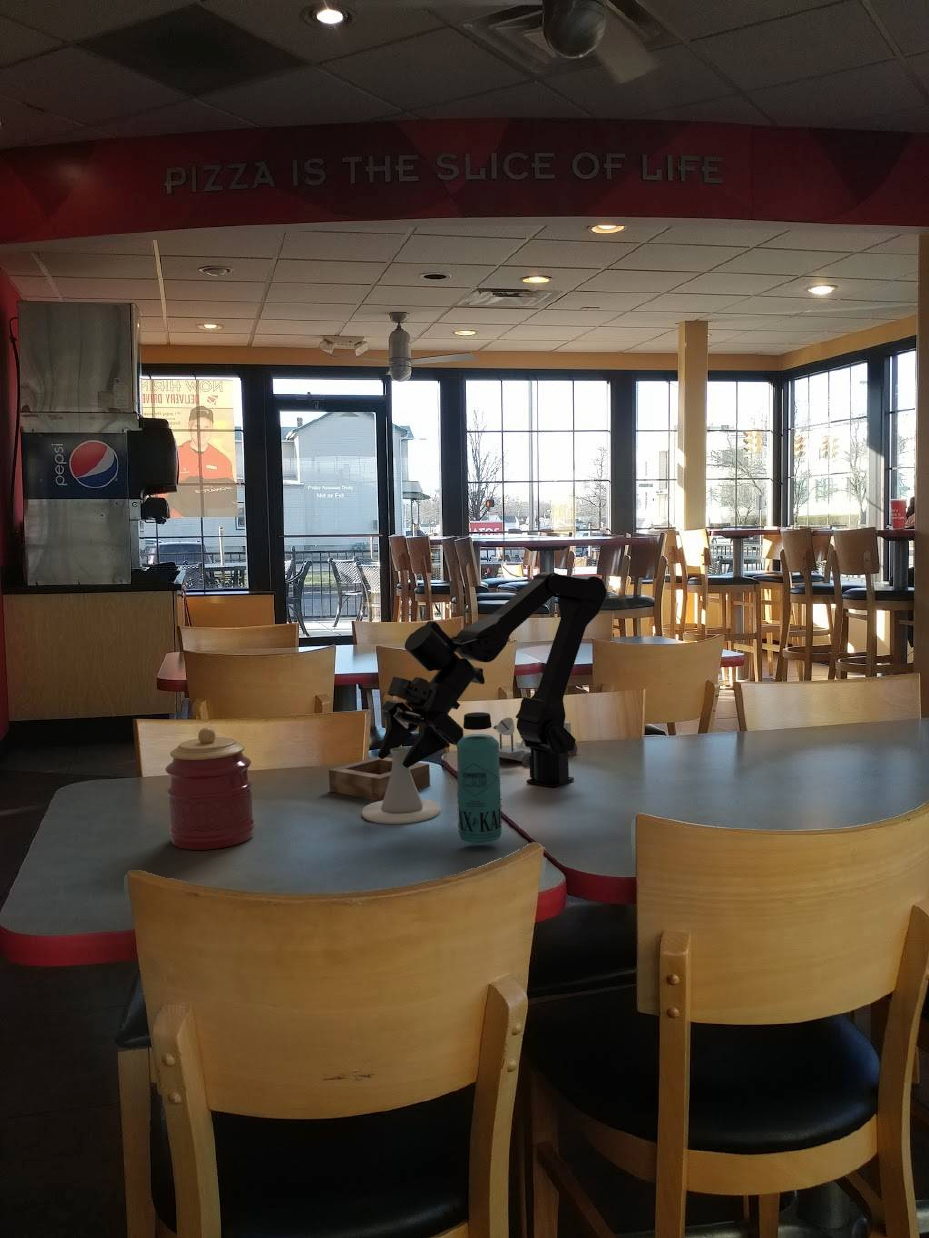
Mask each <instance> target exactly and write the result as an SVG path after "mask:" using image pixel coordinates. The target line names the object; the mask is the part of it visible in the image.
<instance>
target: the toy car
mask: <svg viewBox="0 0 929 1238" xmlns="http://www.w3.org/2000/svg"><path fill="white" fill-rule="evenodd" d="M571 725H572V723H571V721H570V722H569V721H565V722H564V728H565V729H566V730H567V731H568V732H569V733H570V734H571V735H572V728H571ZM493 729H494V730H496V732H497V733H498V734H499V758H503V759H509V760H513V761H518V762H521V763H522V766H523V767H530V764H529V756H530V755H531V748H530V747H526V746H525V744H524V741H523V738H522V737H521V736H520V735H519V736H520V738H521V740H518V741H515V744H514V733H515V722H514V719H513V718H512V717H509V716H508V717H504V718H503V719H501V720H500V721H499V722H498V723H495V724H494V726H493ZM502 735H503V736H510V743H511V745H509V746H506V745H503V741H502V739H503V736H502ZM577 753H578V745H577V744H576V743H575V745H574V749H573V751H568V757H570V756H573V755H576V754H577Z"/></svg>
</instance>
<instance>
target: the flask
mask: <svg viewBox="0 0 929 1238" xmlns="http://www.w3.org/2000/svg"><path fill="white" fill-rule="evenodd" d="M409 750H410V748H408V747H398V748H393V749H391V750H390V753H391V754H390V755H391V757H392V770H391V775H390V779H389V783H388V786H387V790H386V793H385V796H384V800H382V801H383V803H382V807H381V810H384V811H387V812H390V813H394V812H410V811H414V810H418V809H422V807H423V803H422V801H421V799H422V798H421V796H420V793H419V791H418V789H417V788H416V786H415V783H414V781H413V778H412V775H411V773H410V769H409V768H406V767H404V766H403V765H402V763H403V761H404V759H405V757H406V755H407V754H408V752H409Z"/></svg>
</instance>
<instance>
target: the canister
mask: <svg viewBox="0 0 929 1238" xmlns="http://www.w3.org/2000/svg"><path fill="white" fill-rule="evenodd" d="M197 735H198V737H197V738H195V739H193V738H192V739H190V740H185V741H182V742H181V743H179V745H178V746H177V747H176V748H174V749H173V750H171V751H170V753H169V755H170V757H171V758H172V762H170V763H168V765H167V766H166V767H165V772H166V773H167V774H168V775H169V785H168V786H167V788H166V794H167V795H168V809H169V811H168V812H169V827H168V830H169V838H171V843H172V845H173V846H175V847H177V848H179V849H184V850H192V851H194V850H195V851H199V850H200V851H207V850H216V849H222V848H224V849H225V848H228V847H233V846H235V845H239V844H242V843H244V842H246V841H249V840H250V839H251V838H252V837H253V835H254V829H255V817H254V811H253V796H252V795H253V793H252V785H253V780H251V778H250V776H249V767H250V765H251V764H252V761H251V759H250V758H249V757H247V756H245V755H244V753H243V752H244V750H245V749H246V748H245V747H246V746H245V745H244V744H242V743H240V742H238V741H236V739H234V738H231V737H225V736H224V737H223V736H222V737H221V736H220V737H219V736H217V735H216V732H215V730H214V729H213V728H211V727H204V728H202V729H200V730H199V731H198V734H197Z"/></svg>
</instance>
